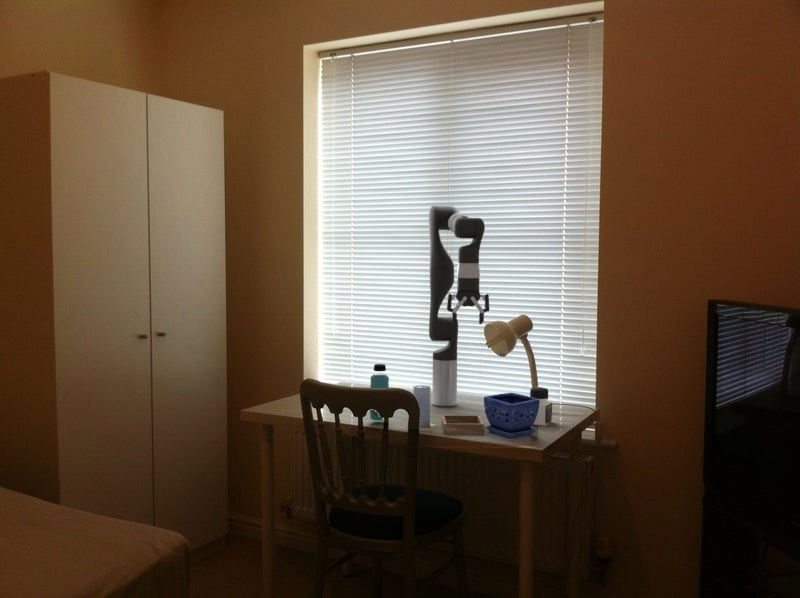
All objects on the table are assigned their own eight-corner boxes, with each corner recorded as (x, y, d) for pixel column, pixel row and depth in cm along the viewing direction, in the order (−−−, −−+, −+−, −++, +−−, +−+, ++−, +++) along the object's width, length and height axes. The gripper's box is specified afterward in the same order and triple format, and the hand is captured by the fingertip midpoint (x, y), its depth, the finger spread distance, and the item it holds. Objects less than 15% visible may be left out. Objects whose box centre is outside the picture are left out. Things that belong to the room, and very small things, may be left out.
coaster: (406, 424, 243) (406, 422, 243) (436, 424, 243) (436, 422, 243) (406, 431, 233) (406, 430, 233) (437, 431, 233) (437, 430, 233)
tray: (441, 425, 241) (441, 415, 241) (479, 425, 242) (479, 415, 241) (444, 435, 229) (444, 424, 229) (483, 435, 229) (484, 424, 229)
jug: (429, 424, 241) (430, 385, 240) (430, 429, 234) (431, 389, 233) (413, 424, 241) (413, 385, 240) (413, 429, 234) (413, 389, 233)
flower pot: (541, 435, 229) (541, 398, 228) (510, 442, 221) (511, 403, 221) (511, 427, 240) (512, 391, 239) (481, 433, 232) (481, 396, 231)
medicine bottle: (545, 426, 242) (546, 390, 241) (525, 423, 245) (525, 388, 244) (552, 421, 248) (552, 387, 247) (532, 419, 251) (532, 385, 250)
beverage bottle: (378, 419, 250) (378, 361, 248) (393, 422, 245) (393, 364, 244) (365, 423, 245) (365, 364, 243) (380, 426, 240) (380, 366, 239)
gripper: (487, 276, 251) (487, 323, 252) (446, 276, 251) (446, 322, 252) (490, 277, 243) (490, 325, 244) (448, 276, 243) (447, 325, 244)
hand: (467, 324), depth 248 cm, fingers open, 8 cm apart
